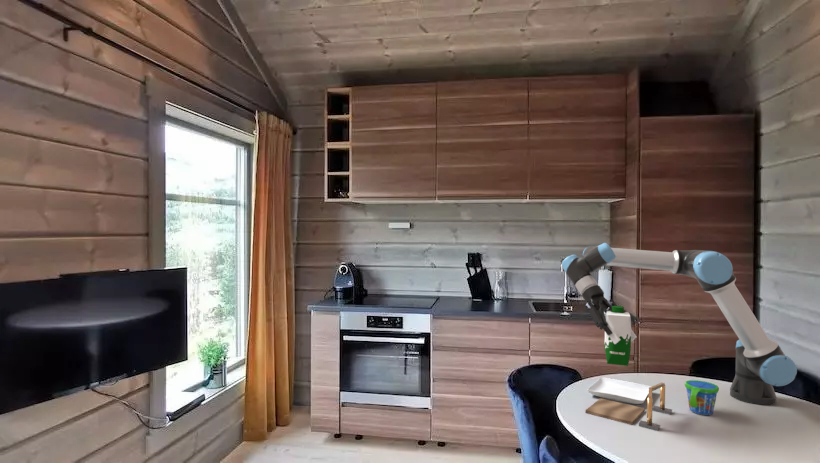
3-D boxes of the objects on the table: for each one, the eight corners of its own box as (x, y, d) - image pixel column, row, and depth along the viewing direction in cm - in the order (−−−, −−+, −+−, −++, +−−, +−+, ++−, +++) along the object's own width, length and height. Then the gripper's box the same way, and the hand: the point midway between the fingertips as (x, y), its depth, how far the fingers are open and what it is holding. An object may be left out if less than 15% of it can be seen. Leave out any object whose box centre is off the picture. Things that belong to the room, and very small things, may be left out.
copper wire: (672, 412, 180) (672, 383, 180) (657, 430, 164) (658, 399, 164) (654, 408, 184) (655, 380, 184) (638, 425, 168) (639, 395, 167)
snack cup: (697, 403, 189) (697, 376, 189) (726, 412, 181) (727, 384, 180) (675, 411, 181) (675, 384, 181) (705, 421, 172) (706, 392, 172)
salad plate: (600, 383, 213) (600, 375, 212) (654, 394, 200) (654, 385, 200) (585, 397, 195) (585, 389, 195) (644, 410, 183) (644, 400, 183)
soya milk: (629, 360, 182) (630, 306, 181) (631, 367, 173) (632, 310, 173) (603, 357, 185) (604, 304, 184) (604, 364, 176) (605, 308, 176)
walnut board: (644, 411, 181) (644, 408, 181) (632, 424, 169) (632, 421, 169) (600, 400, 191) (600, 398, 191) (585, 412, 179) (585, 410, 179)
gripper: (602, 294, 197) (637, 342, 184) (565, 298, 186) (599, 349, 173) (614, 282, 193) (651, 331, 179) (576, 285, 182) (613, 338, 168)
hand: (625, 340), depth 176 cm, fingers closed on soya milk, 8 cm apart
